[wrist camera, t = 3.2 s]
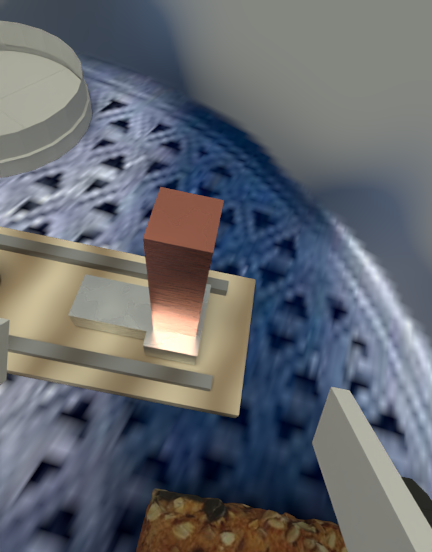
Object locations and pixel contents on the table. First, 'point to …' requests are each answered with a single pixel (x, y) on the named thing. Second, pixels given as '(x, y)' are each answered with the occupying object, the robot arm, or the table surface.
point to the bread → (229, 528)
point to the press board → (107, 346)
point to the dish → (38, 99)
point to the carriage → (160, 281)
